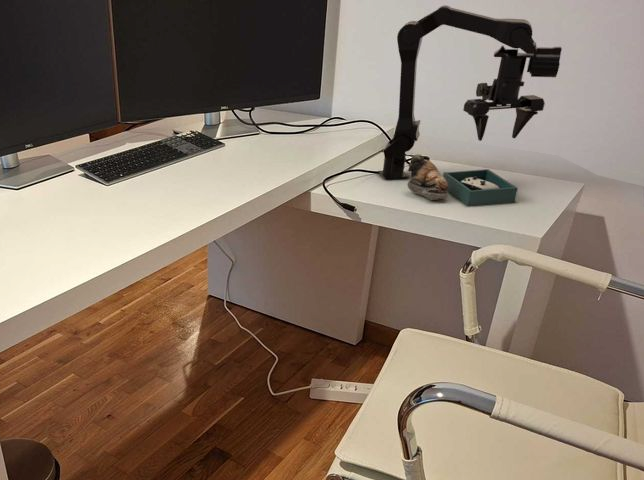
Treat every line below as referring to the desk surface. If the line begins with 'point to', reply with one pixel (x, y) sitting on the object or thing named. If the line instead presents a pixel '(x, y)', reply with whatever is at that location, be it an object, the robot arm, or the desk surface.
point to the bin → (480, 197)
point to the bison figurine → (426, 179)
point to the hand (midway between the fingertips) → (496, 139)
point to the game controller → (478, 184)
